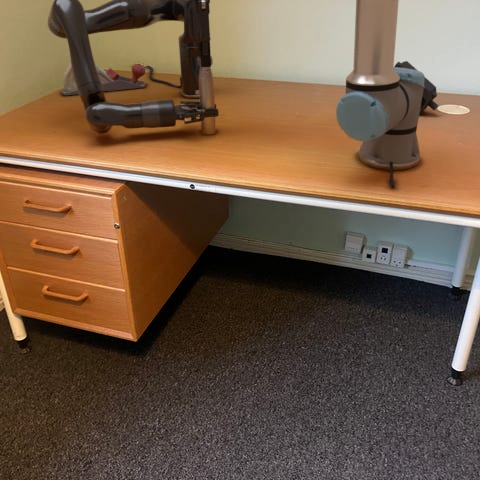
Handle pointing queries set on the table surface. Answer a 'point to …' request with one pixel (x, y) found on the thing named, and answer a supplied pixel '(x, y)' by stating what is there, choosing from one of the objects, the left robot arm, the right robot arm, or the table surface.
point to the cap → (200, 61)
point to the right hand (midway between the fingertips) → (205, 63)
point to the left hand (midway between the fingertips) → (216, 109)
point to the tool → (428, 90)
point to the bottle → (207, 98)
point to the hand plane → (107, 80)
